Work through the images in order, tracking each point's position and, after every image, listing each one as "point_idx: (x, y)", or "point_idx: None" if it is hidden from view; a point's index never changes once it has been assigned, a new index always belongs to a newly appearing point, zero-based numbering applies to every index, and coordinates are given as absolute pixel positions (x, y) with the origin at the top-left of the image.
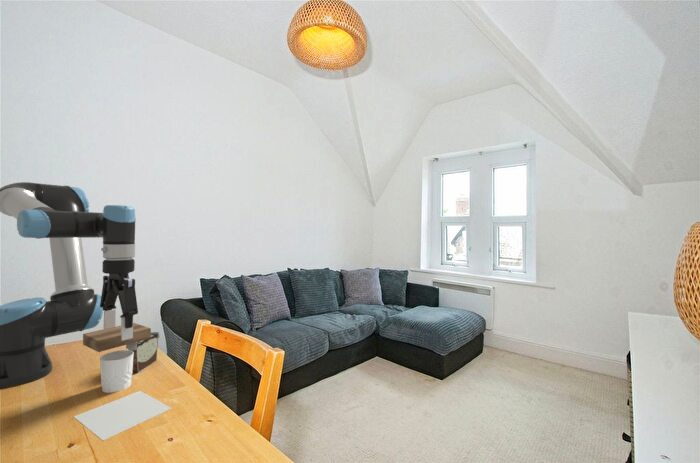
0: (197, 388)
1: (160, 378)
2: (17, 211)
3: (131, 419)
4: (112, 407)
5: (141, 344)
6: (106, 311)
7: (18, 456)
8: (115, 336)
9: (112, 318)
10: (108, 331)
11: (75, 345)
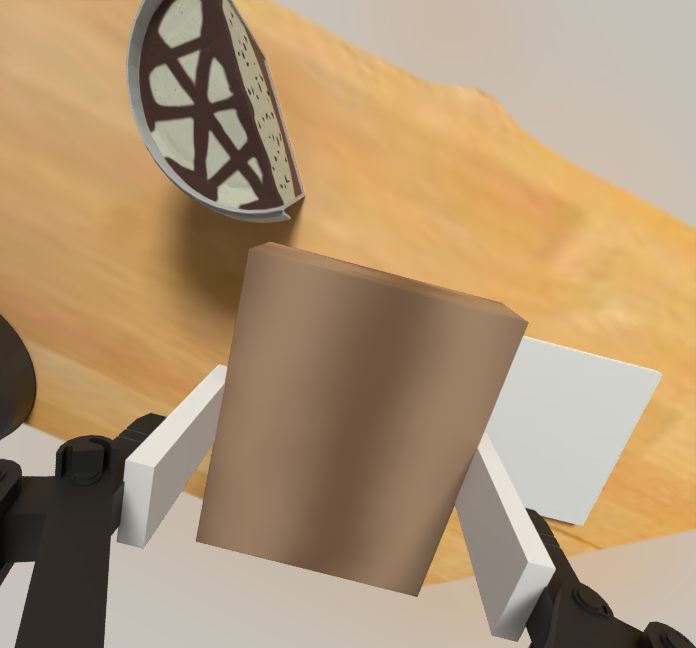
0: (652, 218)
1: (437, 200)
2: None
3: (580, 450)
4: None
5: (268, 160)
6: (145, 535)
7: (435, 582)
8: (437, 523)
9: (192, 439)
10: (292, 469)
11: None
